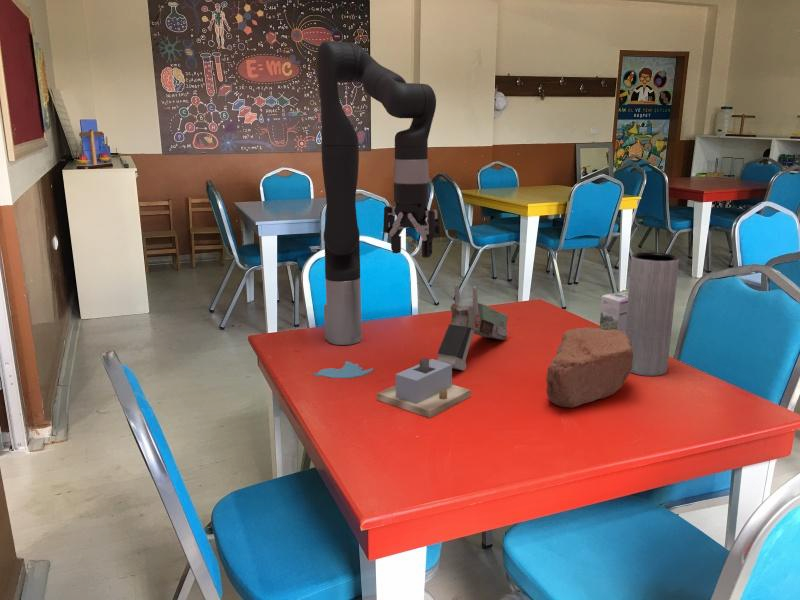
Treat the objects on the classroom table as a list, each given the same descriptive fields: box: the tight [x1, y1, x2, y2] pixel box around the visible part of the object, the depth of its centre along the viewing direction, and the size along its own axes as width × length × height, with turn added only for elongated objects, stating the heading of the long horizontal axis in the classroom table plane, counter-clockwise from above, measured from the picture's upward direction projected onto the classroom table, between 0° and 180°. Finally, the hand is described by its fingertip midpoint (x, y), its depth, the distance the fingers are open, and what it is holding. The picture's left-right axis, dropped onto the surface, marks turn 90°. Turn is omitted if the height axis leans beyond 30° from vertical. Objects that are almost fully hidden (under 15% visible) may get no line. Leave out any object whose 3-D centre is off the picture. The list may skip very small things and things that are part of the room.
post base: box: [376, 358, 472, 419], centre depth 137 cm, size 14×14×8 cm
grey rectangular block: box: [395, 358, 453, 404], centre depth 137 cm, size 12×6×5 cm, turn 139°
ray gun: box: [436, 283, 509, 371], centre depth 164 cm, size 7×32×20 cm, turn 152°
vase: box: [625, 251, 680, 377], centre depth 151 cm, size 10×10×27 cm
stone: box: [545, 326, 633, 409], centre depth 138 cm, size 16×26×15 cm, turn 145°
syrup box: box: [599, 292, 628, 333], centre depth 165 cm, size 6×6×14 cm
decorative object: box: [312, 361, 374, 380], centre depth 153 cm, size 12×1×10 cm
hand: (411, 255), depth 145 cm, fingers open, 8 cm apart
